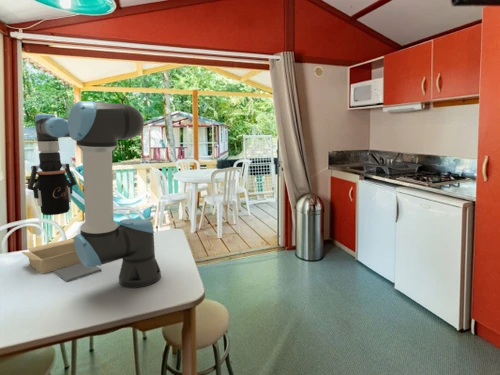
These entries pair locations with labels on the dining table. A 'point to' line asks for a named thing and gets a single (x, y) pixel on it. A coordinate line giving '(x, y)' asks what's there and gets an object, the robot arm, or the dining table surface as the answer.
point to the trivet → (76, 272)
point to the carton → (53, 256)
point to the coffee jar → (53, 192)
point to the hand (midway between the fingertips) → (54, 203)
